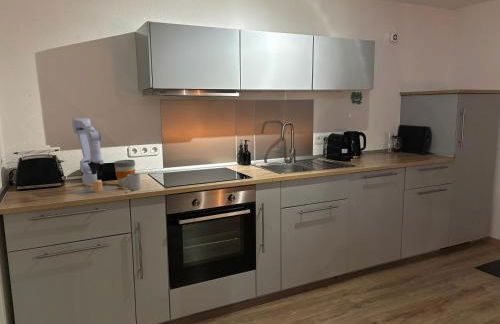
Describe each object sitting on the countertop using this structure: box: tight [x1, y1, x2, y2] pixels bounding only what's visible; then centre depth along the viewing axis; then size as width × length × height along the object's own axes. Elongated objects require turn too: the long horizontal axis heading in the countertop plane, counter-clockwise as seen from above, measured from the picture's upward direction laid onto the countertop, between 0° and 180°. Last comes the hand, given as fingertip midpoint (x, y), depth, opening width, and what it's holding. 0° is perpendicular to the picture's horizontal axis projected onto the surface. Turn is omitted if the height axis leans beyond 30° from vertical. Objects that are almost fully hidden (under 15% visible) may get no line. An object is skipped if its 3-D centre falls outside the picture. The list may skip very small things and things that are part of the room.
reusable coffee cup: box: [114, 159, 136, 187], centre depth 233 cm, size 13×13×15 cm
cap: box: [92, 179, 104, 193], centre depth 210 cm, size 5×5×6 cm
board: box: [71, 184, 119, 197], centre depth 213 cm, size 14×22×4 cm, turn 137°
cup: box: [122, 173, 142, 192], centre depth 219 cm, size 7×10×9 cm
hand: (97, 174), depth 217 cm, fingers open, 7 cm apart
